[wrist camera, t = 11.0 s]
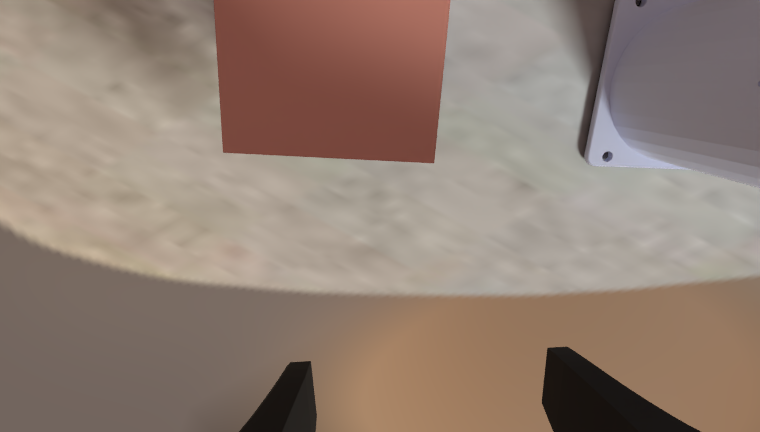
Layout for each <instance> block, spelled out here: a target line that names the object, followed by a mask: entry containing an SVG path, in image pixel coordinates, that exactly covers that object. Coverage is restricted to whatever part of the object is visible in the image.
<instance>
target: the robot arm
mask: <svg viewBox="0 0 760 432" xmlns="http://www.w3.org/2000/svg"><path fill="white" fill-rule="evenodd" d="M605 152H608V157H607V158H606V159H605V160H603V159H602V156H603V154H604V153H605ZM584 158H585V161H586V162H587V163H588V164H590V165H594V166H611V167H638V168H666V169H691V170H695V171H698V172H702V173H706V174H710V175H713V176H717V177H721V178H724V179H728V180H732V181H735V182H739V183H743V184H746V185H750V186H754V187H757V188H760V0H641V5H640V6H639V7H638V6H637V5H636V0H615V4H614V9H613V14H612V19H611V24H610V29H609V34H608V39H607V44H606V49H605V54H604V59H603V64H602V69H601V74H600V79H599V84H598V89H597V94H596V99H595V104H594V109H593V114H592V119H591V124H590V129H589V135H588V140H587V145H586V150H585V155H584ZM542 404H543V407H544V409H545V412H546V414H547V417H548V419H549V422H550V424H551V427H552V429H553V431H554V432H700V431H699V430H697V429H695V428H693V427H691V426H689V425H687V424H686V423H684V422H682V421H680V420H678V419H677V418H675V417H673V416H672V415H670V414H668V413H667V412H665V411H663V410H662V409H660V408H659V407H657V406H655V405H654V404H652V403H650V402H649V401H647V400H646V399H644V398H642V397H641V396H639V395H638V394H636V393H635V392H633V391H632V390H630V389H629V388H627V387H626V386H624V385H622V384H621V383H620V382H618V381H617V380H615V379H614V378H612V377H611V376H609V375H608V374H607V373H605V372H604V371H602V370H601V369H599V368H598V367H597V366H595V365H594V364H592V363H591V362H589V361H588V360H587V359H585V358H584V357H582V356H581V355H579V354H578V353H576V352H575V351H573V350H572V349H570V348H568V347H555V348H548V349H547V358H546V367H545V377H544V386H543V396H542ZM316 418H317V414H316V405H315V395H314V386H313V377H312V368H311V361H306V362H290V364H289V365H287V367H286V368H285V370H284V372H283V373H282V375H281V376H280V378H279V379H278V381H277V382H276V384H275V385H274V387H273V388H272V389H271V391H270V392H269V394H268V395H267V396H266V398H265V399H264V401H263V402H262V403H261V405H260V406H259V407H258V409H257V410H256V411H255V413H254V414H253V415H252V416H251V418H250V419H249V420H248V422H247V423H246V424H245V425H244V426H243V427H242V429H241V430H240V431H239V432H315V431H316Z"/></svg>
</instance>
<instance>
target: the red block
mask: <svg viewBox="0 0 760 432" xmlns="http://www.w3.org/2000/svg"><path fill="white" fill-rule="evenodd" d="M449 9H450V0H214V12H215V28H216V44H217V61H218V77H219V93H220V109H221V126H222V142H223V153H243V154H263V155H282V156H302V157H322V158H342V159H361V160H381V161H401V162H421V163H434V159H435V149H436V139H437V129H438V119H439V109H440V99H441V89H442V79H443V69H444V59H445V49H446V39H447V29H448V19H449Z"/></svg>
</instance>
